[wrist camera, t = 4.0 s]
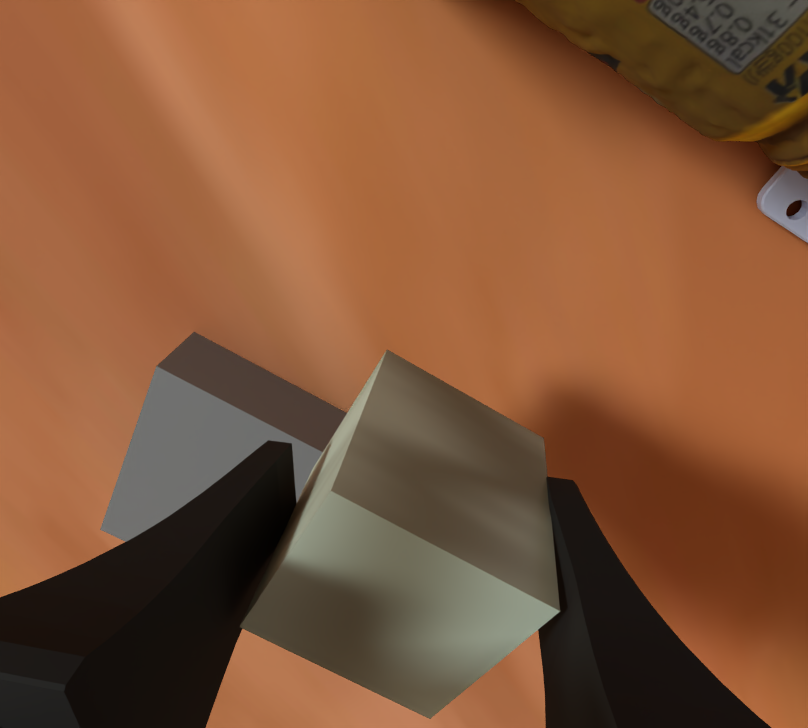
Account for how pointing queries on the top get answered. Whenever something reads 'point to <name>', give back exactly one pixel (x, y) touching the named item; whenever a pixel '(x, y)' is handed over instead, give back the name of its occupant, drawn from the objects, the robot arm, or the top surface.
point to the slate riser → (210, 432)
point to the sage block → (414, 544)
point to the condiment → (705, 62)
